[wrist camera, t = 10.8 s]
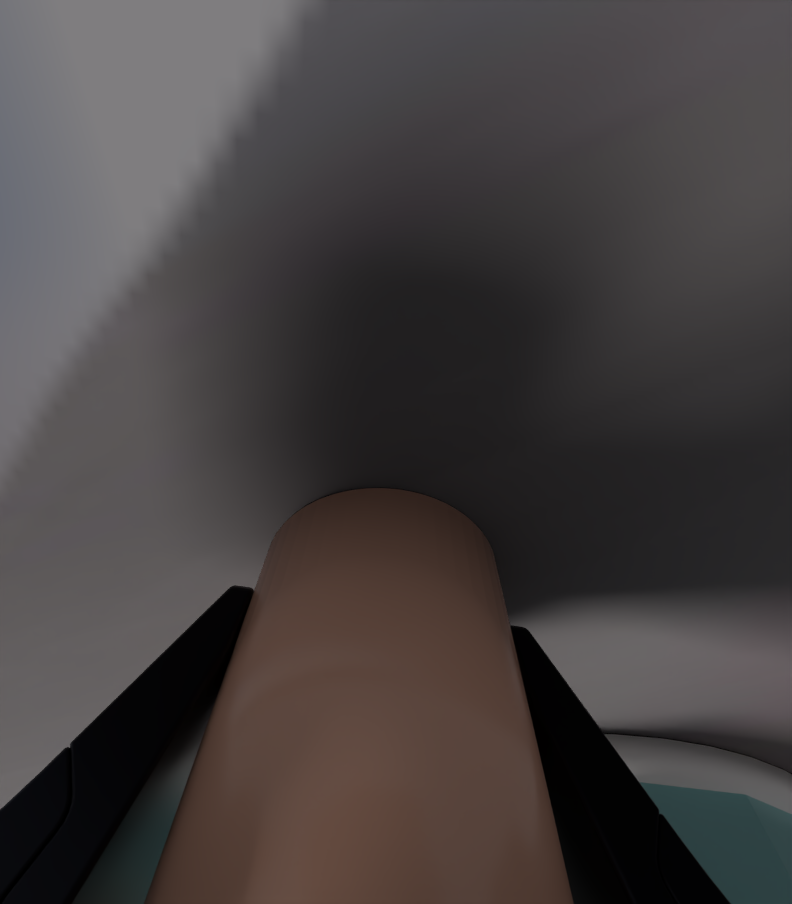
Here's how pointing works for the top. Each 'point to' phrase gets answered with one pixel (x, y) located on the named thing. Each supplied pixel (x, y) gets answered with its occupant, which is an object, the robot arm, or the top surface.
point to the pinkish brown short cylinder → (369, 727)
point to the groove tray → (702, 767)
